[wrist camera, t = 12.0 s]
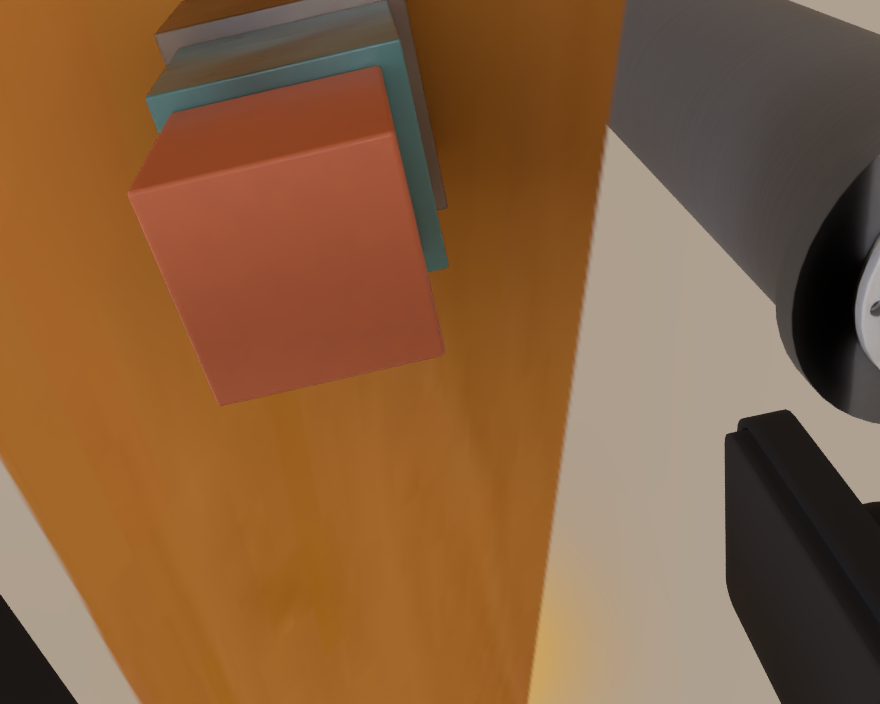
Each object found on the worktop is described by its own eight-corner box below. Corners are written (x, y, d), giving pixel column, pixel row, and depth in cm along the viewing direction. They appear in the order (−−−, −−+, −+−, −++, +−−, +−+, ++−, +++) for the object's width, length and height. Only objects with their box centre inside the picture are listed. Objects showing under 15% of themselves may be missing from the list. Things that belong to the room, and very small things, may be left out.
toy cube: (380, 63, 19) (394, 130, 15) (423, 254, 22) (446, 356, 18) (169, 112, 19) (124, 192, 15) (239, 297, 22) (217, 408, 18)
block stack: (389, -47, 27) (417, 10, 19) (431, 156, 31) (470, 280, 22) (180, 1, 27) (113, 80, 19) (248, 198, 31) (218, 337, 22)
